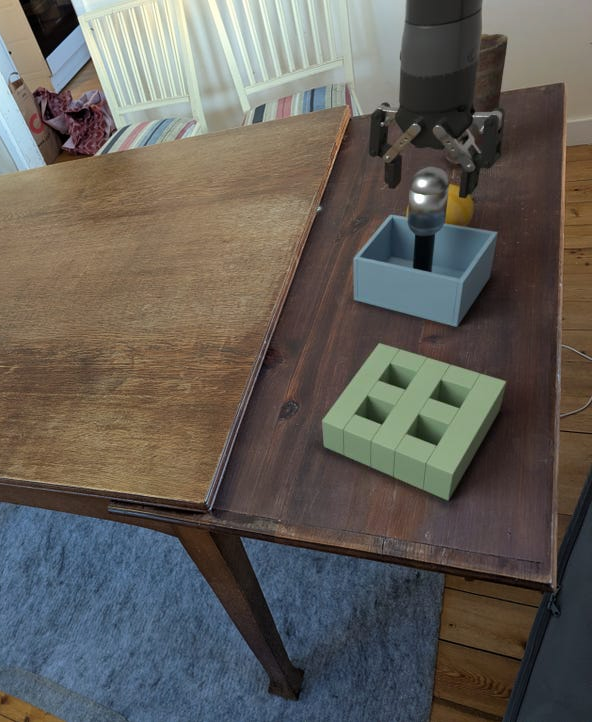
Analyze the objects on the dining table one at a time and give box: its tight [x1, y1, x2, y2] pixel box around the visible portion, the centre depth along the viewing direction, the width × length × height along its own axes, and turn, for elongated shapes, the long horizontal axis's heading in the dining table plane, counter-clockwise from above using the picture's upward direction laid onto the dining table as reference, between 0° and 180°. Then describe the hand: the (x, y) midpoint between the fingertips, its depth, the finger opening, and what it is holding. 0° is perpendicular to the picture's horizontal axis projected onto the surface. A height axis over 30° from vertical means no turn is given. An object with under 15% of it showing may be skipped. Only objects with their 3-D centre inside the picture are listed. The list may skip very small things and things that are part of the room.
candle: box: [443, 33, 508, 165], centre depth 99 cm, size 8×7×20 cm
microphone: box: [407, 166, 450, 272], centre depth 80 cm, size 4×4×18 cm
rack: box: [321, 342, 507, 501], centre depth 70 cm, size 14×14×5 cm
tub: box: [352, 214, 499, 328], centre depth 84 cm, size 14×11×8 cm
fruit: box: [405, 183, 475, 227], centre depth 91 cm, size 9×8×8 cm
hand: (428, 189), depth 76 cm, fingers open, 8 cm apart
